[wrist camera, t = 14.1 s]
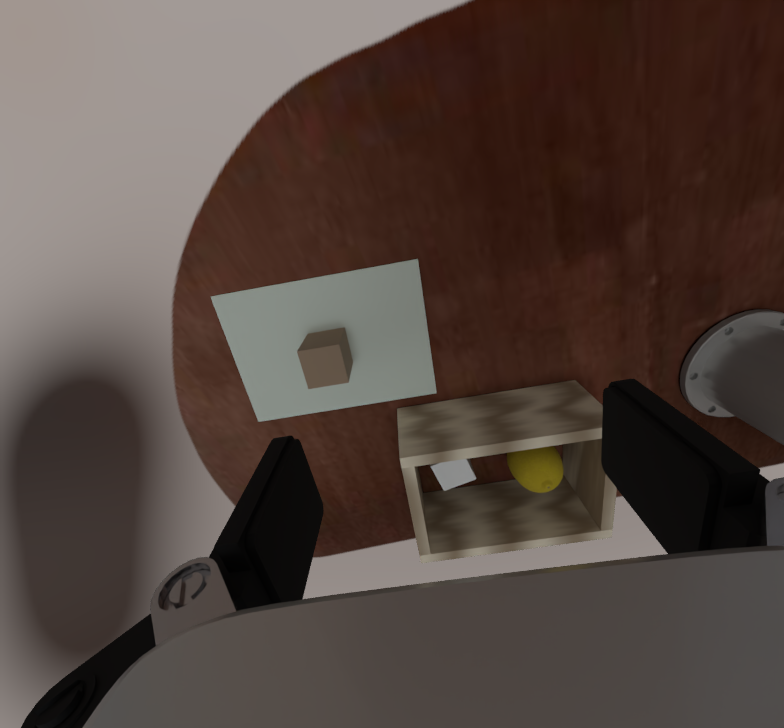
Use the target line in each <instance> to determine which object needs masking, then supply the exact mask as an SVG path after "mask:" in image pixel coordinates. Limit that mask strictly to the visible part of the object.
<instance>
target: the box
mask: <svg viewBox="0 0 784 728" xmlns="http://www.w3.org/2000/svg"><path fill="white" fill-rule="evenodd" d="M602 417H603V405H602V404H600V403H599V402H598V401H597V400H596V399H595V398H594V397H593V396H592V395H591V394H590V393H589V392H587V391H586V390H585V389H584V388H583V387H582V386H581V385H580V384H579V383H578V382H577V381H576V380H572V381H566V382H559V383H553V384H547V385H541V386H534V387H528V388H522V389H516V390H509V391H503V392H497V393H491V394H484V395H478V396H472V397H466V398H459V399H453V400H447V401H441V402H434V403H428V404H422V405H415V406H409V407H403V408H397V420H398V438H399V456H400V463H401V467H402V472H403V477H404V482H405V487H406V492H407V496H408V501H409V506H410V511H411V516H412V521H413V526H414V530H415V535H416V540H417V545H418V550H419V554H420V559H421V563H427V562H434V561H442V560H449V559H456V558H464V557H472V556H479V555H486V554H493V553H501V552H508V551H516V550H523V549H531V548H538V547H546V546H553V545H560V544H568V543H575V542H582V541H590V540H597V539H604V538H611V537H612V529H613V520H614V510H615V509H614V508H615V500H616V490H617V488H616V487H615V485H614V484H613V483H612V481H611V480H610V479H609V478H608V476H607V475H606V474H605V472H604V470H603V468H602V464H601V449H602ZM562 444H563V469H564V472H563V478H562V480H561V482H560V484H559V485H558V486H557V487H556V488H555V489H553V490H551V491H549V492H545V493H536V492H532V491H530V490H528V489H526V488H524V487H523V486H522V485H521V484H520V483H519V482H518V481H517V480H509V481H502V482H495V483H488V484H481V485H475V486H468V487H461V488H454V489H449V490H446V491H444V490H440V491H433V492H427V493H423V491H422V486H421V480H420V475H419V469H418V466H422V465H429V464H435V463H442V462H448V461H455V460H462V459H468V458H475V457H482V456H488V455H495V454H502V453H508V452H515V451H522V450H528V449H535V448H542V447H548V446H555V445H562Z"/></svg>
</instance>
